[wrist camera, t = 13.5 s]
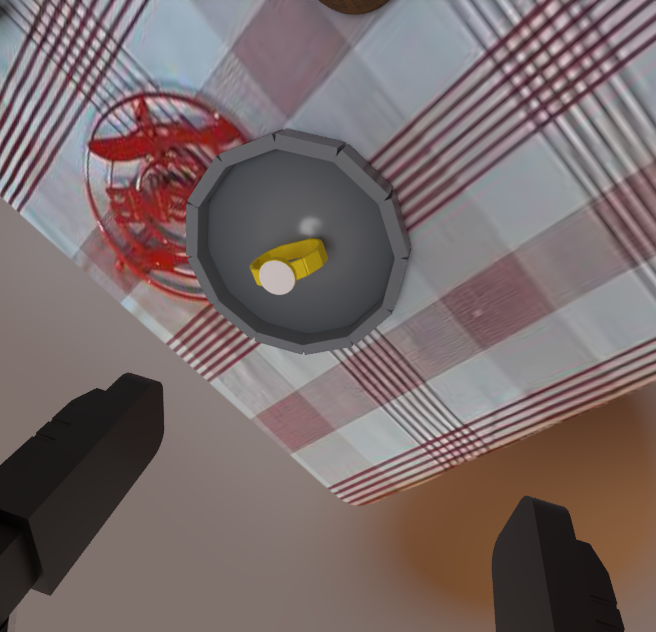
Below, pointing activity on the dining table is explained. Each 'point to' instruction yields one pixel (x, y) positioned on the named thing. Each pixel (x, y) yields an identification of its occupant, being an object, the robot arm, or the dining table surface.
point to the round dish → (296, 225)
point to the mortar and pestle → (354, 5)
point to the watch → (288, 264)
